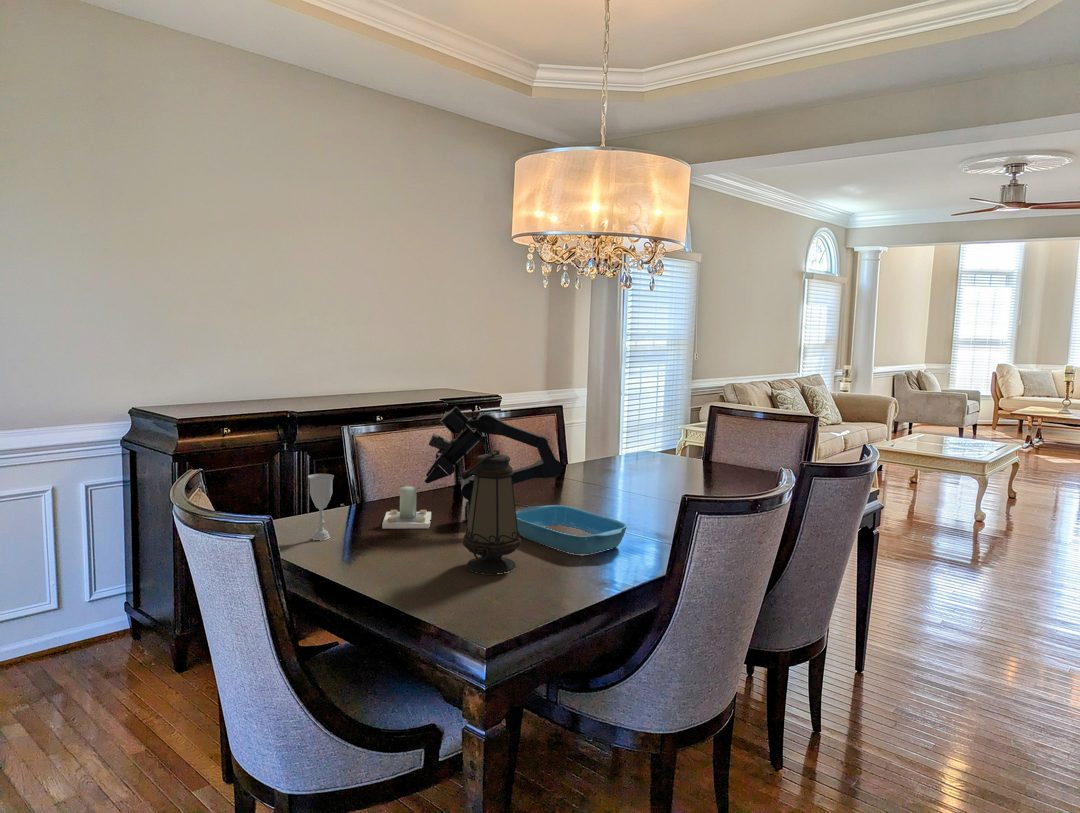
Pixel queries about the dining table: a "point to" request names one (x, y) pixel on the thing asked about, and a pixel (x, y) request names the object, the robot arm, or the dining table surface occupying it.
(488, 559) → the lantern
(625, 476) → the dining table surface
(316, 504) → the chalice
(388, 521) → the display tile
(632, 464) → the dining table surface
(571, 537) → the casserole dish
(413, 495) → the sage green capsule
